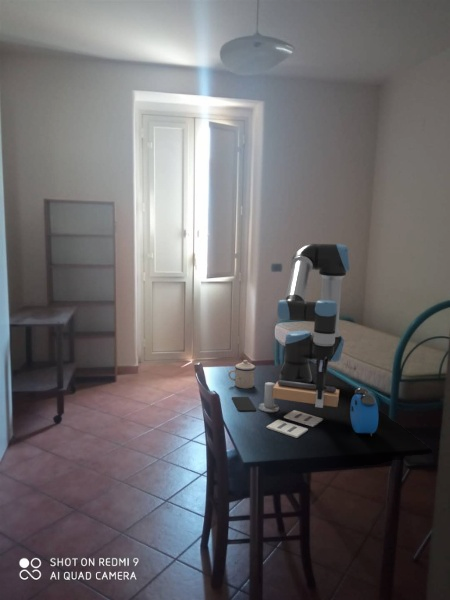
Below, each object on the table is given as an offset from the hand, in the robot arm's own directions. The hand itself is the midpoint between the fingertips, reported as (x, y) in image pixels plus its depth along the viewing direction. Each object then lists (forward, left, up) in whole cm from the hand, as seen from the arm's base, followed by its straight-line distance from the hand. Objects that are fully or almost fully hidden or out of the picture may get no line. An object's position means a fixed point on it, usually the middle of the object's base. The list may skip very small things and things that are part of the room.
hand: (319, 406), depth 163 cm
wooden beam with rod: (-3, -9, -5) cm, 11 cm away
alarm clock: (-3, +15, -6) cm, 17 cm away
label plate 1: (+13, -6, -6) cm, 15 cm away
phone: (+4, -31, -7) cm, 32 cm away
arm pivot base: (+1, -21, -6) cm, 21 cm away
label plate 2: (+1, -6, -6) cm, 8 cm away
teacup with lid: (-14, -45, -6) cm, 47 cm away
